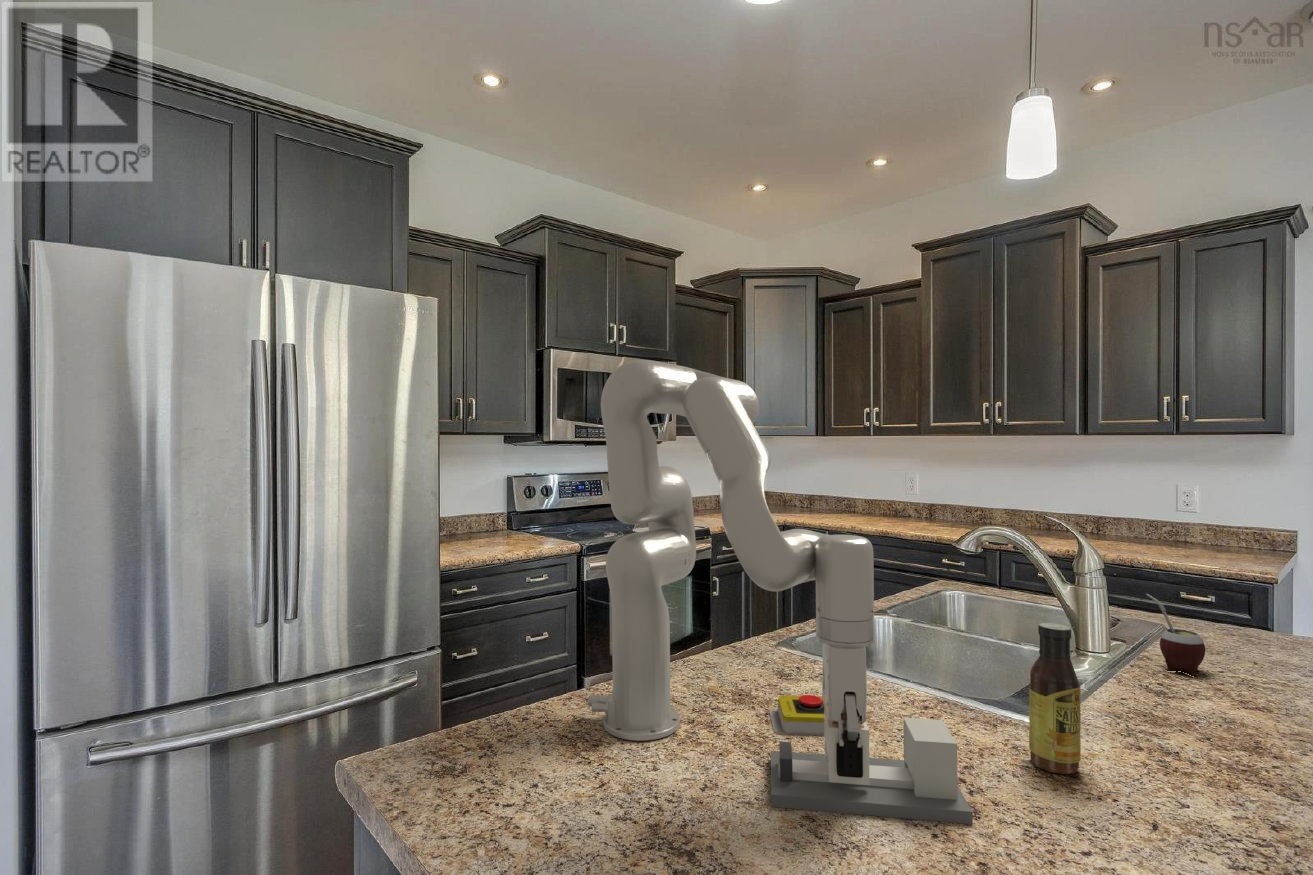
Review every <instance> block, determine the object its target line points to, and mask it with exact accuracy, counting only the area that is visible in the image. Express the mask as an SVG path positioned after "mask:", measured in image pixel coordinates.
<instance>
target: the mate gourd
mask: <svg viewBox="0 0 1313 875" xmlns="http://www.w3.org/2000/svg"><path fill="white" fill-rule="evenodd" d="M1145 595H1146V596H1147V597H1149V598H1150V599H1151V600H1153V601H1154V602H1155V603H1156V604H1157V605H1158V607H1159V609H1160V611H1161V612H1162V615H1163V616H1164V618H1165V621H1166V623H1167V625H1168V628H1167V629H1165V630H1164V632H1162V634H1161V635H1160V640H1159V647H1160V648H1159V649H1160V652H1161V654H1162V655H1163V658H1164V660H1165V663H1166V664H1165V665H1166V667H1167V669H1165V671H1166V670H1167V671H1176V672H1178V671H1181V672H1184V673H1187V674H1189V675H1191V676H1194V677H1197V678H1198V675H1197V674H1196V673H1195V672H1199V673H1200V669H1198V667H1199V666H1200V665H1201V664H1202V662H1203V661H1204V658H1205V655H1206V645H1205V641H1204V640H1203V638H1202V637H1201V636H1200V634H1199V633H1197V632H1194V631H1191V630H1187V629H1181V628H1174V627H1173V624H1172V623H1171V620H1170V618H1169V616H1168V613H1167V611H1166V607H1165V606H1164V604H1162V602H1161V601H1160V600H1158V599H1157V598H1155V597H1153V596H1152V595H1150V594H1148V593H1145Z"/></svg>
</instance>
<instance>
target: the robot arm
mask: <svg viewBox="0 0 1313 875" xmlns="http://www.w3.org/2000/svg"><path fill="white" fill-rule="evenodd" d="M759 412H760V404H759V398H758V397H757V394H756V392H755V391H754V390H753V388H752V387H751V386H750V385H748V384H747V383H746V382H744V381H741V380H738V379H732V378H728V377H724V376H719V375H717V374H712V373H711V372H706V371H701V370H699V369H696V368H691V367H688V366H683V365H679V364H678V365H677V364H672V363H668V362H662V361H657V360H651V359H635V360H630V361H627V362H625V363H623V364H620V366H617V368H615V369H614V371H612V373H610V375H609V377H608V379H607V380H606V382H605V384H604V385H603V390H602V393H601V398H600V413H601V414H600V415H601V420H602V421H601V422H602V426H603V430H604V437H605V444H606V446H605V447H606V460H607V474H608V489H609V501H610V505H611V506H610V508H611V511H612V513H613V515H614V517H615V518H616V520H618V522H621V523H622V524H625V525H641V524H642V525H643V524H648V530H645V531H638V532H633V533H630V534H627V535H625V536H622V537H620V538H618V539H617V540H616V541H615V542H614V543H613V544H612V545H611V546H610V548H609V549H608V551H607V555H606V558H605V572H606V576H607V577H606V578H607V582H608V587H609V593H610V594H609V595H610V599H611V600H610V601H611V602H610V604H611V629H612V630H611V632H612V638H611V639H612V640H611V641H612V650H611V651H612V693H608V694H607V695H606V696H605V695H599V694H589V696H588V700H587V703H588V704H587V706H588V707H591V708H590V709H591V712H593V713H600V712H601V713H604V714H605V715H603V728H604V730H605V731H606V732H607V733H608V734H610V735H611V736H613V737H616V738H619V739H620V740H621V739H622V740H627V741H636V742H641V741H643V742H645V741H654V740H659V739H662V738H666V737H668V736H670V735H672V734H674V733H675V732H676V731H677V730H678V729H679V728H680V724H681V722H680V721H681V718H680V715H679V714H680V713H678V712H677V711H676V710H674V709H673V708H672V707H671V649H670V648H671V639H670V638H671V635H670V634H671V633H670V632H671V631H670V630H671V629H670V624H671V622H670V613H669V612H670V611H669V607H668V604H667V601H666V599H665V596H664V593H663V589H662V587H663V586H665V585H669V584H672V583H675V582H679V581H680V580H683V579H684V578H686V577H687V576H688V575H689V574H690V573H691V571H692V570H693V568H694V566H695V562H696V558H697V544H696V543H697V541H696V531H695V516H694V504H693V495H692V492H691V487H690V484H689V483H688V481H687V479H686V478H685V476H684V475H683V474H682V473H681V471H678V469H675V467H674V468H673V467H670V466H667V465H666V466H664V465H660V464H659V457H658V442H657V438H656V434H655V432H654V429H653V428H652V426H651V424H650V422H649V419H648V415H649V414H651V413H653V414H664V415H674V416H675V415H676V416H681V417H685V418H686V420H687V421H688V423H689V426H690V427H691V430H692V432H693V433H694V435H695V437H696V439H697V441H698V443H699V445H700V447H701V449H702V451H703V453H704V455H705V457H706V458H707V461H708V463H709V464H710V466H711V468H712V470H713V472H714V474H715V476H716V478H717V481H718V483H719V502H720V503H719V504H720V513H721V519H722V524H723V529H724V532H725V534H726V537H727V539H728V541H729V543H730V546H731V547H732V549H733V551H734V553H735V555H736V558H737V559H738V561H739V563H740V565H741V567H742V568H743V570H744V571H745V573H746V574H747V576H748V577H749V578H750V579H751V581H752V582H753V583H754V584H755V585H756V586H758V587H759V588H761V589H763V590H765V591H769V592H782V591H785V590H788V589H791V588H792V587H793V588H794V587H795V586H797V585H799V584H802V583H803V584H804V583H807V582H810V581H811V582H812V581H815V617H816V618H815V634H816V635H815V638H816V639H817V640H818V641H819V642H821V643H823V644H822V677H821V678H822V681H821V682H822V683H821V685H822V686H821V696H822V700H823V705H824V710H825V714H826V718H827V720H828V721H829V722H831V723H832V722H833V721H837V723H838V740H839V743H836V760H837V775H838V776H842V777H854V778H862V777H863V746H862V741H861V726H860V724H863V723H864V722H865V721H866V722H867V708H868V707H867V701H868V700H867V699H868V698H867V693H868V692H867V690H868V687H867V682H868V681H867V648H866V647H869V646H871V645H873V644H875V600H874V599H875V598H874V597H875V590H874V588H875V583H874V582H875V581H874V580H875V577H874V576H875V571H874V570H875V569H874V546H873V544H872V542H871V541H870V540H869V539H868V538H866V537H864V536H860V535H854V534H853V535H852V534H827V533H822V532H818V531H813V530H810V529H805V528H792V529H788V530H782V531H781V530H780V528H779V527H778V524H777V523H776V521H775V519H774V518H773V515H772V513H771V511H770V509H769V506H768V504H767V499H766V496H765V495H766V494H765V480H766V476H767V473H768V471H769V468H770V466H771V462H772V457H771V454H770V452H769V450H768V448H767V447H766V445H765V443H764V442H763V440H762V438H761V436H760V435H759V432H758V431H757V428H756V427H755V425H754V423H755V422H756V420H757V419H758V416H759ZM841 715H846V720H844V719H841ZM843 725H847V727H846V728H847V730H844V733H843Z"/></svg>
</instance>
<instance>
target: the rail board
mask: <svg viewBox="0 0 1313 875" xmlns="http://www.w3.org/2000/svg"><path fill="white" fill-rule="evenodd" d="M902 720H903V722H902V723H903V760H901V759H892V758H890V759H889V758H877V757H876V758H875V757H869V785H861V784H849V783H837V782H829V778H828V760H825V754H821V753H810V752H809V753H808V752H807V753H806V752H795V751H792V750H793V749H792V742H791V741H779V744H778V745H779V747H778V748H779V750H770V798H771V800H770V802H771V803H770V806H771V808H773V807H774V808H783V809H785V808H786V809H793V810H796V809H797V810H805V811H806V810H807V811H818V812H826V813H828V812H829V813H841V814H853V815H862V816H863V815H865V816H876V817H886V818H887V817H888V818H896V819H897V818H898V819H907V820H909V819H910V820H911V819H912V820H920V821H930V822H931V821H932V822H942V823H943V822H945V823H953V824H954V823H955V824H963V825H964V824H966V825H974V822H973V810H972V808H971V807H970V805H969V803H968V801H967V799H966V798H965V796H964V794H963V792H962V790H961V789H960V787H959V785H958V743H957V742H956V740H955V739H954V737H953V735H952V733H951V732H950V730H949V728H948V727H947V726H946V724H945V722H944V721H943V719H930V718H916V717H915V718H914V717H903V719H902Z"/></svg>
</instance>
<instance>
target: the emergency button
mask: <svg viewBox="0 0 1313 875" xmlns="http://www.w3.org/2000/svg"><path fill="white" fill-rule="evenodd" d="M769 717H770V721H771V725H772V730H773V732H774V733H776V734H778V735H799V736H801V735H803V736H824V705H823V700H822V695H821V696H820V695H819V696H818V695H814V694H803V695H779V696H778V699H777V709H774V708H773V709H770V710H769Z"/></svg>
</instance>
